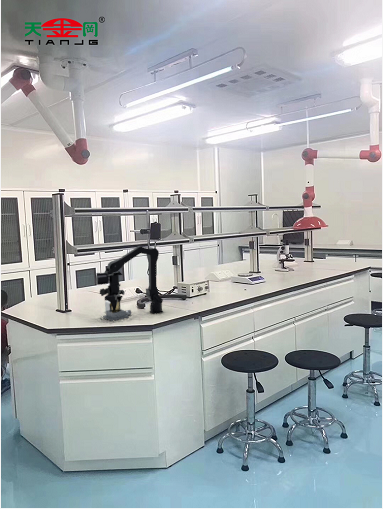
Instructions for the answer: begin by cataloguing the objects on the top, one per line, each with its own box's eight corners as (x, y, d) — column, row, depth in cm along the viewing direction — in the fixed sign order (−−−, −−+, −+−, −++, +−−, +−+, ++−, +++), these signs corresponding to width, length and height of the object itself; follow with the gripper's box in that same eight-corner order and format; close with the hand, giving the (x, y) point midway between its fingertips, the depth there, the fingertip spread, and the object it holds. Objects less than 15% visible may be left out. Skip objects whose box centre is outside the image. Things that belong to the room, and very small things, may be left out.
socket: (125, 313, 249) (125, 306, 248) (134, 316, 240) (134, 309, 239) (103, 317, 240) (102, 310, 239) (111, 321, 231) (111, 314, 230)
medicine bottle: (110, 314, 248) (109, 295, 247) (105, 312, 253) (104, 293, 252) (120, 312, 252) (119, 293, 251) (115, 310, 258) (114, 291, 256)
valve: (117, 311, 241) (116, 298, 241) (120, 312, 238) (120, 299, 237) (110, 312, 239) (110, 299, 238) (114, 314, 235) (113, 300, 234)
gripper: (106, 280, 247) (107, 305, 248) (95, 286, 229) (96, 313, 230) (124, 280, 245) (125, 305, 247) (114, 286, 227) (115, 313, 228)
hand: (115, 309), depth 238 cm, fingers closed on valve, 4 cm apart
